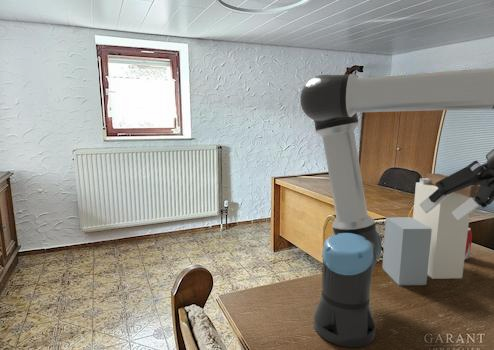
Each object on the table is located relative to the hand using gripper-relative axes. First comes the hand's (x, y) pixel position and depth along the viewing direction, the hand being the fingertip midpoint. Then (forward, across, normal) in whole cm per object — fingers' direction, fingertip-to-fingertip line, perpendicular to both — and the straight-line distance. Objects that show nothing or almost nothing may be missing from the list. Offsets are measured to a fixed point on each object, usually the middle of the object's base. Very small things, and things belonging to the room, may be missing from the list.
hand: (439, 213), depth 83 cm
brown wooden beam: (+1, +22, +15) cm, 27 cm away
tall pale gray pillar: (+30, +18, -1) cm, 35 cm away
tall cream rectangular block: (+26, +32, +1) cm, 41 cm away
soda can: (+24, +49, +6) cm, 55 cm away
